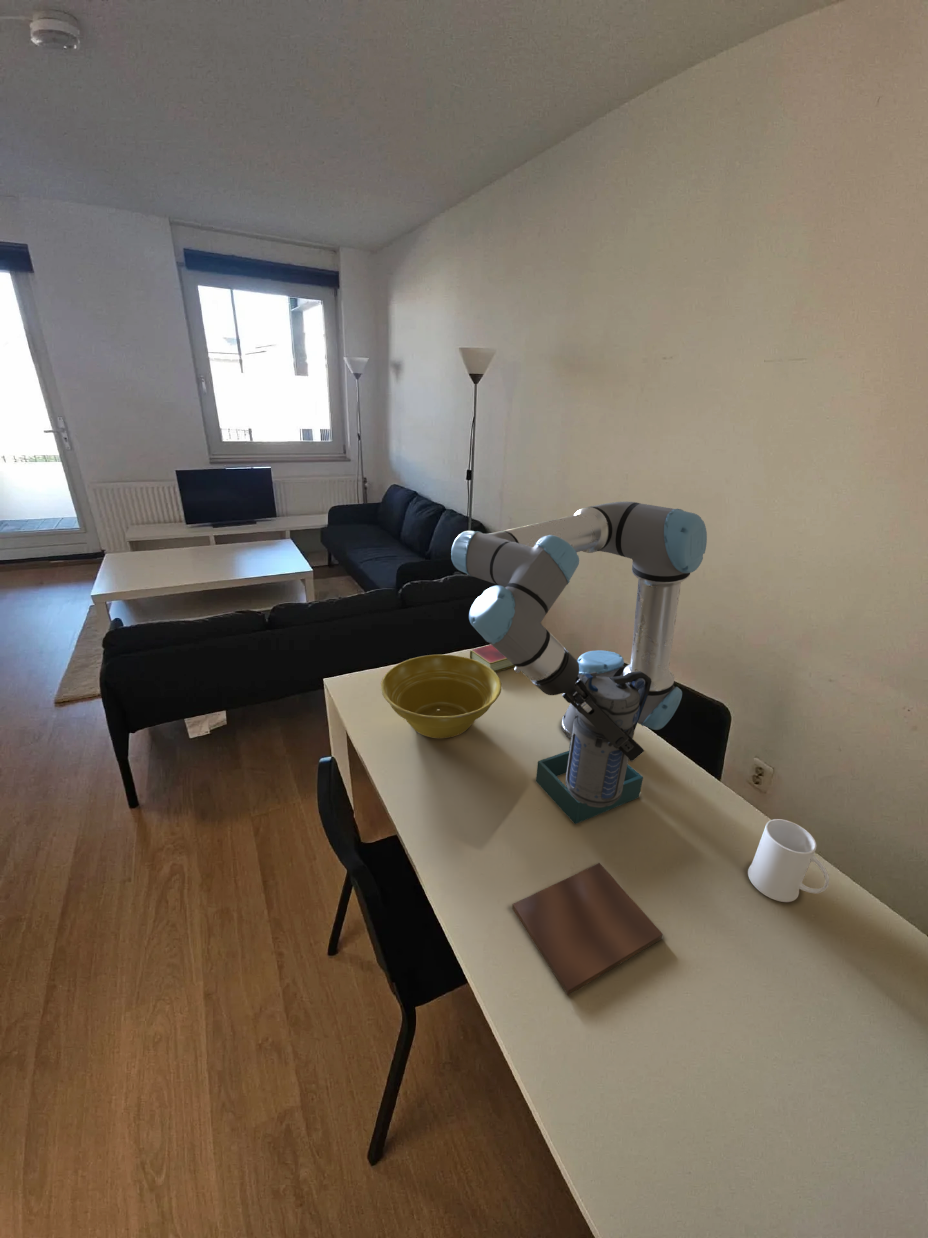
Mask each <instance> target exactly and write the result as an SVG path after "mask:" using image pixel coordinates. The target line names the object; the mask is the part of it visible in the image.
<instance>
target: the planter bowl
mask: <svg viewBox="0 0 928 1238" xmlns="http://www.w3.org/2000/svg"><path fill="white" fill-rule="evenodd" d="M380 693H381V695H382V697H383V698H384V699H385V701H386V702H387V703H388V704H389V705H390V707H391V708H392V710H393V711H394V712H395V713H396V714H397V715H398V716H400V717H401V718H402V719H404V720H405V721H406V722H407V723H408V725H409V726H410V727H411V728H412V729H413V730H415V732H417V733H419V734H420V735H422V736H425V737H427V738H433V739H449V738H453V737H456V736H459V735H461V734H463V733H464V732H466V731H467V730H468V729H469V728H470V727H471V726H472V725H473V724H474V723H475V721H476V720H478V719H480V717H483V716H484V715H485V714H486V713H487V712H488V711H489V710H490V708H491V706H492V704H494V703H495V702H496V701H497V700H498V698H499V697H500V695H501V693H502V681H501V678H500V677H499V675H498V674H497V672H494V671H493V670H492V669H491V668H489V667H488V666H486V665H485V664H483V663H481V662H478V661H476V660H473V659H470V657H465V656H461V655H454V654H429V655H428V654H427V655H421V656H417V657H413V658H409V659H406V660H403V661H402V662H399V663H397V664H396V665H394V666H393V667H391V668H390V669H389V670H387V671H386V673H385V674H384V675H383V677H382V678H381V681H380Z"/></svg>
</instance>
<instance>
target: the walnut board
mask: <svg viewBox="0 0 928 1238" xmlns="http://www.w3.org/2000/svg"><path fill="white" fill-rule="evenodd" d="M511 909H512V911H513V912H514V914H515V915H516V917H517V918H518V920H519V922H520V923H521V925H522V926H523V928H524V929H525V931H526V933H527V935H528V937H530V939H531V941H532V942H533V943H534V945H535V947H536V948H537V950H538V952H539V953H540V954H541V957H543V959H544V960H545V962H546V963H547V966H548V967H549V969H550V970H551V971H552V973H553V974H554V977H556V979H557V981H558V982H559V984H560V985H561V987H562V989H563V990H564V992H565V993H566V995H567V996H569V995H571V994H573V993H574V992H576V991H577V990H579V989H581V988H583V987H585V986H586V985H588V984H590V983H591V982H593V981H595V980H596V979H598V978H599V977H601V976H603V975H604V974H606V973H608V972H610V971H611V970H613V969H614V968H616V967H617V966H619V965H621V964H622V963H624V962H626V961H628V960H629V959H631V958H633V957H634V956H636V955H638V954H639V953H641V952H642V951H644V950H646V949H648V948H649V947H651V946H652V945H655V944H656V943H657V942H659V941H661V940H662V939H663V936H664V934H663V933H662V931H661V930H660V929H659V928H658V927H657V926H656V924H655V923H654V922H653V921H652V920H651V919H650V918H649V917H648V916H647V915H646V913H645V912H644V911H643V910H642V908H640V906H638V904H637V903H636V902H635V901H634V900H633V898H631V897H630V895H629V894H628V893H627V892H626V891H625V890H624V889H623V887H622V886H621V885H620V884H619V883H618V882H617V880H615V878H614V877H613V876H612V874H610V873H609V872H608V871H607V869H606V868H605V867H604V866H603V864H601V863H600V862H598V863H596V864H594V865H591V866H590V867H588V868H586V869H583V870H581V871H579V872H577V873H575V874H573V875H571V876H568V877H566V878H564V879H562V880H559V881H558V882H556V883H554V884H552V885H549V886H548V887H545V888H544V889H541V890H539V891H537V892H534V893H532V894H530V895H528V896H526V897H524V898H522V899H520V900H518V901H515V902H514V903H512V905H511Z"/></svg>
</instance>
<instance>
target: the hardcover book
mask: <svg viewBox="0 0 928 1238" xmlns="http://www.w3.org/2000/svg"><path fill="white" fill-rule="evenodd" d="M469 658H470V659H473V660H476V661H478V662H481V663H483V664H485V665H486V666H488V667H489V668H491V669H492V670H493V671H494V672H495V673H498V672H502V671H504V670H508V669H511V668H515V667H516V666H515V665H513V664H512V663H511V662H510V661H509V660H508V659H507V658H506V657H505V656H504V655H503V654H501V653H500V652H499V651H498V650H497V649H496V648H494V647H493V646H492V645H491V644H488V645H484V646H481V647H477V648H474V649H470V651H469Z"/></svg>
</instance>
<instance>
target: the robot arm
mask: <svg viewBox="0 0 928 1238" xmlns="http://www.w3.org/2000/svg"><path fill="white" fill-rule="evenodd" d="M707 543H708V533H707V527H706V524H705V522H704V520H703V519H702V517H701V516H700V515H699V514H697V513H696V512H690V511H686V510H683V509H681V508H673V507H672V508H671V507H666V506H665V507H664V506H659V505H652V504H647V503H641V502H636V501H615V502H607V503H601V504H596V505H591V506H586V507H582V508H580V509H578V510H577V511H576V512H575V513H574V514H573V515H568V516H563V517H560V518H555V519H551V520H545V521H541V522H537V523H532V524H528V525H524V526H523V525H522V526H518V527H515V528H510V529H506V530H500V531H495V532H491V533H483V532H482V531H478V530H477V531H474V530H464V531H462V532H461V533H459V534H458V535H457V537H456V538H455V539H454V541H453V543H452V546H451V549H450V550H451V551H450V552H451V553H450V556H451V558H450V559H451V562H452V564H453V566H454V568H455V569H456V570H458V571H459V572H461V573H464V574H467V575H468V576H469V577H473V578H477V579H479V580H483V581H486V582H488V583H491V584H494V585H492V586H490V587H489V588H487V589H484V590H483V592H482V593H481V595H479V596H477V598H475V599H474V601H473V603H472V604H471V607H470V609H469V611H468V620H469V623H470V625H471V626H472V627H473V629H474V630H476V632H477V633H478V634H479V635H480V636H481V637H482V638H483V640H484V641H485V642H486V643H489V645H492V646H493V647H494V648H496V649H497V650H498V651H499V652H500V653H501V654H503V655H504V656H505V657H506V658H507V659H508V660H509V661H510V662H511V663H512V664H513V665H515V666H514V667H513V669H514V672H515V673H516V674H519V673H520V672H522V674H523V675H524V676H525V677H526V678H527V679H529V680H530V682H532V684H533V685H534V686H536V687H537V689H539V690H540V691H541V692H542V693H543V694H545V695H547V696H558V695H561V697H562V698H563V699H564V700H565V701H566V702H567V703H569V705H568V706H567V709H566V711H565V713H564V714H563V716H562V718H561V724H560V725H561V726H560V727H561V730H562V732H563V735H565V736H566V737H567V738H569V739H570V740H571V738H572V731H573V724H574V719H575V716H576V715H577V712H576V709H577V711H578V712H580V713H581V714H583V715H584V716H585V717H586V718H587V719H588V720H589V721H590V722H591V723H592V724H593V725H594V726H595V727H596V728H597V729H598V730H599V731H600V732H601V733H602V734H603V735H604V736H605V737H606V738H607V739H608V740H609V742H608V743H607V744H608V745H609V746H610V747H611V746H612V745H613V746H614V747H615V748H617V749H620V750H621V751H622V752H623V753H624V754H625V755H626V756H627V757H628V758H629V759H630V760H631V761H632V762H634V761H635V760H636V759H638V757H640V756H641V755H642V754H643V753H644V752H645V750H644V748H643V747H642V746H641V745H640V744H639V743H638V742H636V741H635V740H634V738H633V739H632V738H631V737H630V736H629V735H628V734H627V733H626V732H625V731H624V730H623V729H622V728H621V729H620V728H619V727H618V726H617V724H616V723H615V722H614V721H613V720H612V719H611V718H610V717H609V716H608V715H607V714H606V713H605V712H604V711H603V710H602V709H601V708H600V707H599V706H598V705H597V704H596V698H595V697H594V696H593V695H592V694H591V693H590V691H589V690H588V689H587V688H586V685H585V684H584V683H583V682H582V681H581V679H582V678H583V677H584V675H585V674H588V673H593V672H597V674H596V677H616V676H624V675H626V674H627V673H629V672H637V671H641V672H643V673H644V674H646V675H647V676H648V677H650V678H651V681H652V682H651V686H650V690H649V694H648V696H647V699H646V702H645V704H644V707H643V710H642V712H641V715H640V717H639V720H638V723H637V724H639V725H641V726H642V727H646V728H649V729H651V730H654V731H659V730H661V729H663V728H664V727H665V726H666V725H667V724H668V723H669V722H670V720H671V719H672V717H673V716H674V715H675V713H676V711H677V710H678V708H679V706H680V703H681V701H682V697H683V691H682V689H680V688H679V687H678V686H675V674H674V673H673V672H672V670H671V669H670V663H671V658H672V657H671V656H672V650H673V644H674V636H675V628H676V621H677V616H678V615H677V614H678V608H679V607H678V606H679V601H680V600H679V599H680V595H681V594H680V593H681V585H682V582H684V581H685V580H687V579H689V577H690V576H691V573H694V572H695V571H697V570H698V569H699V567H700V566H701V564H702V562H703V560H704V555H705V553H706V550H707ZM580 552H583V553H587V554H593V553H597V552H601V553H603V552H604V553H608V554H611V555H617V556H621V557H623V558H627V559H631V560H632V566H631V573H632V574H633V576H635V578H637V579H638V581H637V591H636V601H635V610H634V611H635V613H634V622H633V623H634V624H633V632H632V643H631V653H630V663H629V664H627V665H626V666H625V661H624V657H623V656H622V655H621V654H619V653H617V652H614V651H610V650H603V649H602V650H600V649H599V650H589V651H586V652H584V653H582V654H581V655H580V656H579V657H578V658H575V657H574V655H573V654H571V652H569V651H568V650H567V649H566V647H564V645H563V644H562V643H561V642H560V640H558V639H557V638H556V637H555V636H554V635H553V634H552V632H551V631H549V630H548V629H547V628H546V627H545V626H544V625H543V624H542V621H543V620H544V618H545V617H546V616H547V614H548V613H549V611H550V610H551V608H552V607H553V605H554V604H555V603H556V601H557V600H558V598H559V597H560V596H561V594H562V592H563V591H564V590H565V589H566V587H567V586H568V585H569V583H570V582H571V581H570V580H571V579H572V577H573V575H574V574H575V572H576V571H577V568H578V567H579V565H580V556H579V554H578V553H580ZM628 684H629V683H628ZM586 693H587V694H588V695H587V694H586ZM588 696H589V697H590V698H589V697H588ZM577 704H579V705H577ZM631 761H630V762H631Z"/></svg>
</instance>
